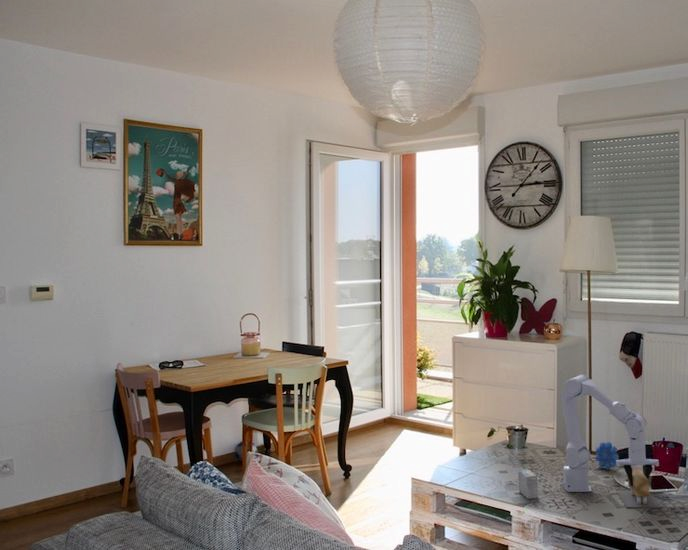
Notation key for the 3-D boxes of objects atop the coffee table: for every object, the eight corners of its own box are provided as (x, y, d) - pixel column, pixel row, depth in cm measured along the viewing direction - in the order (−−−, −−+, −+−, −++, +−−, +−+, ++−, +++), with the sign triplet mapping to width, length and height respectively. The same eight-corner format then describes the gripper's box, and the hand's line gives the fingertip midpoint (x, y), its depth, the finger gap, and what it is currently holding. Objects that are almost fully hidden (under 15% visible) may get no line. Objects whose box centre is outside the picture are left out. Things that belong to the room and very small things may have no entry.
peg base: (627, 508, 263) (626, 500, 263) (617, 492, 279) (616, 485, 279) (662, 508, 262) (661, 499, 262) (650, 492, 277) (649, 484, 277)
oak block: (636, 496, 265) (635, 480, 264) (628, 485, 276) (627, 469, 276) (649, 496, 264) (648, 480, 264) (640, 485, 276) (640, 469, 276)
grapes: (625, 470, 304) (624, 442, 304) (615, 474, 301) (613, 445, 300) (603, 464, 314) (601, 436, 314) (592, 467, 311) (591, 439, 310)
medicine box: (538, 498, 279) (537, 475, 278) (527, 499, 278) (526, 476, 277) (529, 491, 286) (528, 469, 286) (519, 492, 286) (518, 470, 285)
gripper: (618, 451, 267) (620, 488, 267) (660, 451, 265) (662, 488, 265) (614, 446, 274) (615, 482, 274) (655, 445, 272) (656, 482, 272)
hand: (638, 485), depth 270 cm, fingers closed on oak block, 4 cm apart
